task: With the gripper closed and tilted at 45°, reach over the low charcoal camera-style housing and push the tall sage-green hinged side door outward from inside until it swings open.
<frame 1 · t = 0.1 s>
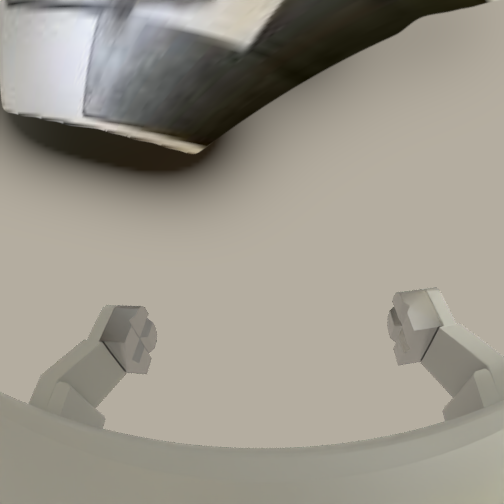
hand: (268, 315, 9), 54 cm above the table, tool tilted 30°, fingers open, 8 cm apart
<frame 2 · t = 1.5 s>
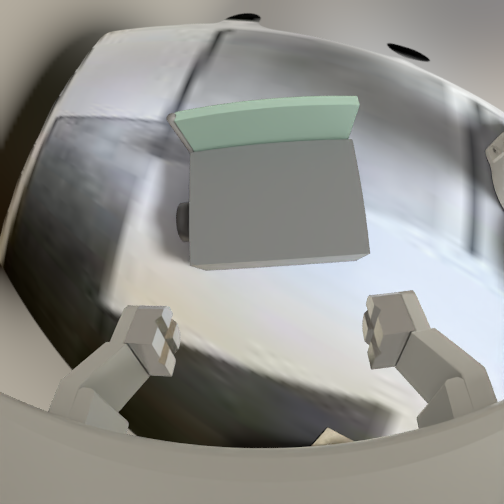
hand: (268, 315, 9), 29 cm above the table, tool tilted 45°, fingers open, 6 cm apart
side door: (266, 133, 34), point 7 cm above the table, hinge at 0.0°
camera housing: (277, 213, 40), on the table
condiment: (328, 457, 34), on the table
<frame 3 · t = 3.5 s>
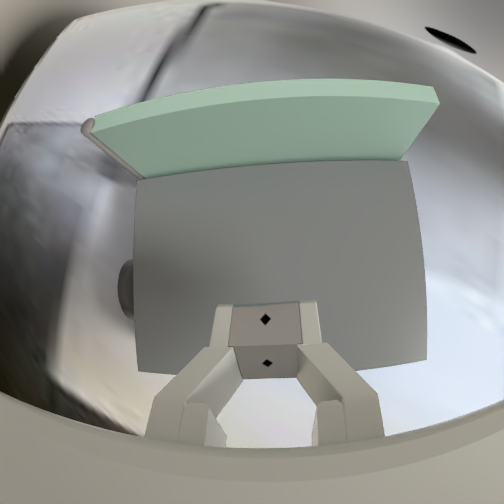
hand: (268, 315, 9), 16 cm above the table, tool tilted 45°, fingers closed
side door: (262, 145, 20), point 7 cm above the table, hinge at 0.0°
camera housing: (280, 274, 26), on the table
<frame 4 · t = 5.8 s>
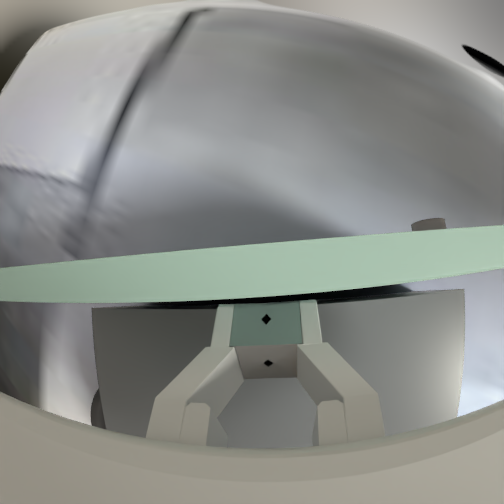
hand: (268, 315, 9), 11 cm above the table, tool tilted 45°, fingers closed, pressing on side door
side door: (262, 269, 14), point 7 cm above the table, hinge at 1.4°, touching gripper
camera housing: (282, 397, 19), on the table
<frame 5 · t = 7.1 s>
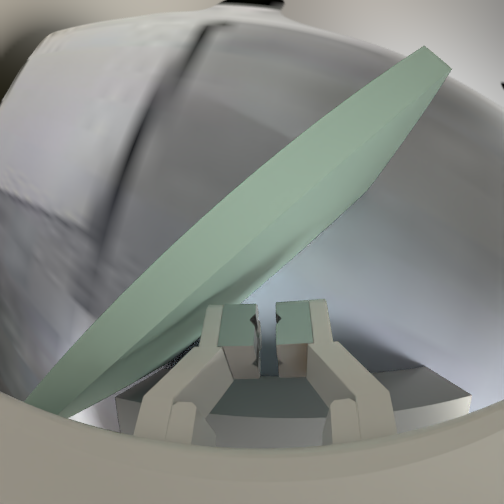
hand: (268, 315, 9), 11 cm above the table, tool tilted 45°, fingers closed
side door: (231, 264, 14), point 7 cm above the table, hinge at 40.5°, touching gripper
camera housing: (292, 455, 19), on the table
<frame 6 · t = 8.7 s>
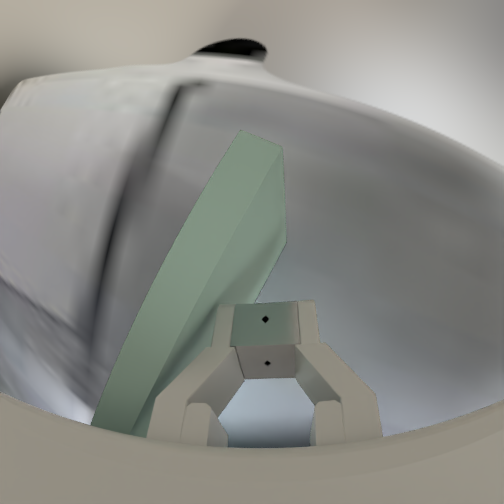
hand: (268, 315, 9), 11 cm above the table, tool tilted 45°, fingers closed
side door: (167, 384, 13), point 7 cm above the table, hinge at 58.9°, touching gripper
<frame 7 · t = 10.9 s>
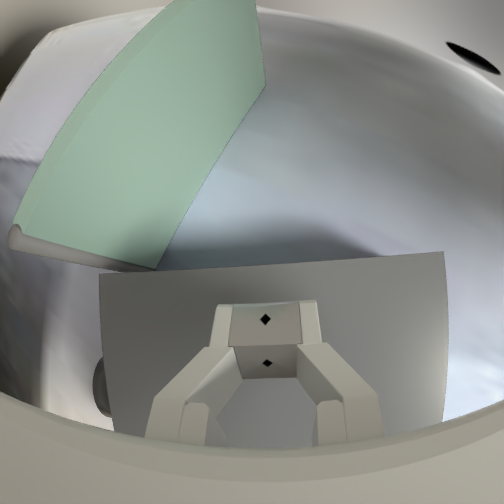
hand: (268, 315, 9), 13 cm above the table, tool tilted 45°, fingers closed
side door: (169, 121, 17), point 7 cm above the table, hinge at 58.9°
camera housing: (277, 367, 21), on the table
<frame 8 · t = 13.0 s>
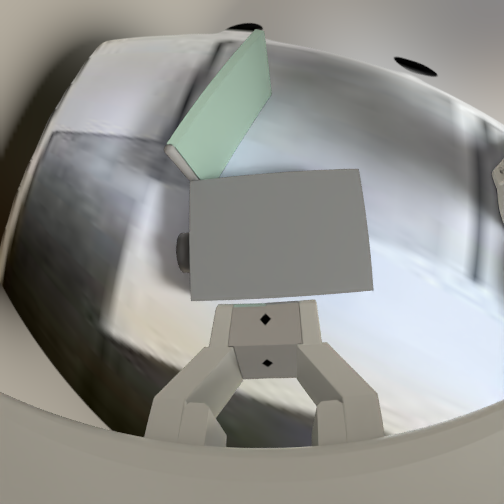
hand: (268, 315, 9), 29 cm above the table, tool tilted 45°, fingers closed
side door: (225, 112, 35), point 7 cm above the table, hinge at 58.9°
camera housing: (279, 243, 39), on the table
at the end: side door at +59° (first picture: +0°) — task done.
